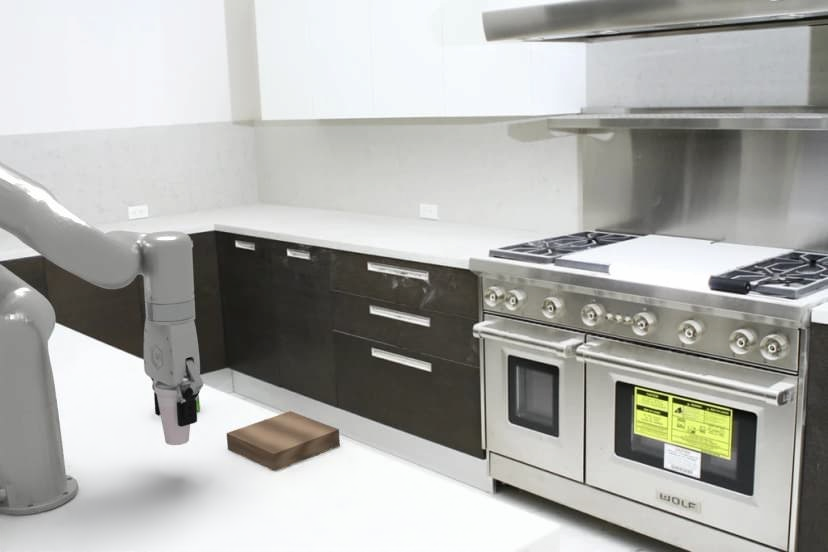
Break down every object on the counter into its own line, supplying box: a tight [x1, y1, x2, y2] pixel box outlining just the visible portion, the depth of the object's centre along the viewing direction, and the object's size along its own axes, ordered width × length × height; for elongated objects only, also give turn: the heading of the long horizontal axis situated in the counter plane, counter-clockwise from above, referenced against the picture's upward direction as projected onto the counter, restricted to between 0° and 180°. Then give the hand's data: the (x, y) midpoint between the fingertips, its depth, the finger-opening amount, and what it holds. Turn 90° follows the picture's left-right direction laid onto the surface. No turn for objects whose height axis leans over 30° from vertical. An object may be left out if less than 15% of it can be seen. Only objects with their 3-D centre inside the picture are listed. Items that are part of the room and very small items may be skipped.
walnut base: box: [226, 410, 341, 472], centre depth 157 cm, size 14×14×3 cm
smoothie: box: [153, 378, 191, 446], centre depth 143 cm, size 6×6×14 cm
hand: (176, 417), depth 144 cm, fingers closed on smoothie, 6 cm apart
